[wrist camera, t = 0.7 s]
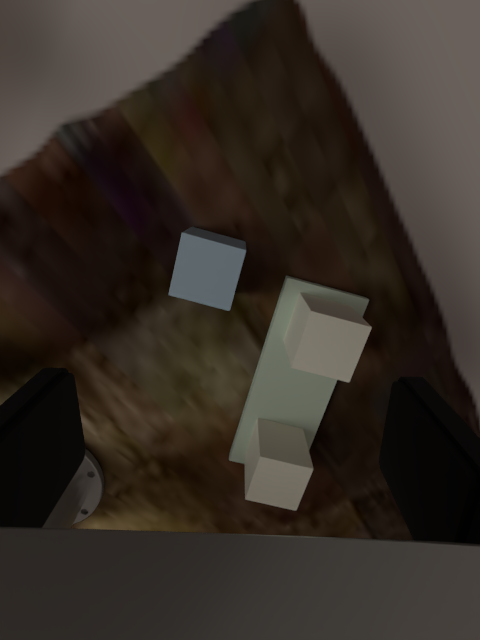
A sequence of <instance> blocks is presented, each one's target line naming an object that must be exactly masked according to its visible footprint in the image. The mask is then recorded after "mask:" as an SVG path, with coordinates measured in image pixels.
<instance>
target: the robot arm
mask: <svg viewBox="0 0 480 640" xmlns="http://www.w3.org/2000/svg"><path fill="white" fill-rule="evenodd" d="M379 463H380V469H381V471H382V473H383V475H384V478H385V480H386V482H387V484H388V486H389V488H390V490H391V493H392V495H393V497H394V499H395V501H396V503H397V505H398V507H399V510H400V512H401V514H402V516H403V518H404V520H405V522H406V524H407V527H408V529H409V531H410V533H411V535H412V537H413V539H414V540H388V539H363V538H337V537H311V536H284V535H256V534H227V533H197V532H166V531H134V530H100V529H71V527H72V525H73V524H75V523H78V522H80V521H82V520H84V519H85V518H87V517H89V516H90V515H91V514H92V513H93V512H94V511H95V509H96V507H97V506H98V504H99V502H100V500H101V498H102V496H103V492H104V487H105V486H104V476H103V472H102V469H101V467H100V465H99V463H98V462H97V460H96V459H95V458H94V456H93V455H92V454H91V453H90V452H89V451H88V450H87V449H86V448H85V442H84V435H83V429H82V423H81V416H80V410H79V403H78V397H77V391H76V384H75V378H74V375H73V374H72V373H69V372H68V370H67V369H66V368H44V369H42V370H41V371H40V372H39V373H37V374H36V375H35V376H34V377H33V378H32V379H30V380H29V381H28V382H27V383H26V384H25V385H24V386H22V387H21V388H20V389H19V390H18V391H17V392H15V393H14V394H13V395H12V396H11V397H10V398H8V399H7V400H6V401H5V402H4V403H3V404H1V405H0V640H480V438H479V437H478V436H477V435H476V434H475V433H474V432H473V431H472V430H471V429H470V427H469V426H468V425H467V424H466V423H465V422H464V421H463V420H462V419H461V418H460V417H459V416H458V414H457V413H456V412H455V411H454V410H453V409H452V408H451V407H450V406H449V405H448V404H447V403H446V402H445V400H444V399H443V398H442V397H441V396H440V395H439V394H438V393H437V392H436V391H435V390H434V389H433V388H432V386H431V385H430V384H429V383H428V382H427V381H426V380H425V379H424V378H423V377H400V378H399V380H398V381H395V382H393V384H392V388H391V394H390V399H389V405H388V411H387V416H386V422H385V428H384V433H383V439H382V445H381V450H380V456H379Z"/></svg>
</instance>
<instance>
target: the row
mask: <svg viewBox="0 0 480 640" xmlns="http://www.w3.org/2000/svg"><path fill="white" fill-rule="evenodd" d="M368 302H369V299H367V298H366V297H363V296H360V295H356V294H352V293H349V292H345V291H341V290H338V289H334V288H330V287H327V286H323V285H319V284H316V283H312V282H308V281H305V280H301V279H298V278H294V277H290V276H287V275H286V277H285V280H284V284H283V287H282V290H281V293H280V296H279V299H278V302H277V306H276V309H275V312H274V315H273V318H272V321H271V324H270V328H269V331H268V334H267V337H266V340H265V343H264V346H263V350H262V353H261V356H260V359H259V362H258V365H257V368H256V372H255V375H254V378H253V381H252V384H251V387H250V390H249V394H248V397H247V400H246V403H245V406H244V409H243V413H242V416H241V419H240V422H239V425H238V428H237V431H236V435H235V438H234V441H233V444H232V447H231V450H230V453H229V461H234V462H238V463H242V464H245V500H250V501H254V502H259V503H263V504H268V505H272V506H277V507H281V508H286V509H290V510H295V511H296V510H297V508H298V505H299V503H300V501H301V498H302V496H303V493H304V491H305V488H306V486H307V484H308V481H309V479H310V476H311V474H312V471H313V465H312V461H311V457H310V454H309V449H310V447H311V444H312V442H313V439H314V437H315V434H316V432H317V429H318V427H319V424H320V422H321V419H322V417H323V414H324V412H325V409H326V407H327V404H328V402H329V399H330V397H331V394H332V392H333V389H334V387H335V384H336V382H337V380H341V381H345V382H350V379H351V377H352V375H353V372H354V370H355V367H356V365H357V362H358V360H359V358H360V355H361V353H362V350H363V348H364V346H365V343H366V341H367V338H368V336H369V333H370V331H371V329H372V327H371V326H370V325H369V324H368V323H367V322H366V321H365V320H364V319H363V318H362V317H363V314H364V312H365V309H366V307H367V304H368Z"/></svg>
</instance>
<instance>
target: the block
mask: <svg viewBox="0 0 480 640" xmlns="http://www.w3.org/2000/svg"><path fill="white" fill-rule="evenodd" d="M245 253H246V242H245V241H242V240H238V239H235V238H231V237H228V236H224V235H220V234H217V233H213V232H210V231H206V230H202V229H199V228H195V227H191V228H189V229H187V230H186V231H184V232H182V235H181V240H180V244H179V249H178V253H177V258H176V263H175V267H174V272H173V276H172V281H171V286H170V290H169V295H171V296H174V297H178V298H182V299H186V300H190V301H193V302H197V303H201V304H205V305H209V306H212V307H216V308H220V309H224V310H228V311H230V308H231V304H232V300H233V297H234V293H235V290H236V286H237V282H238V279H239V275H240V271H241V268H242V264H243V261H244V257H245Z"/></svg>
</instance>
